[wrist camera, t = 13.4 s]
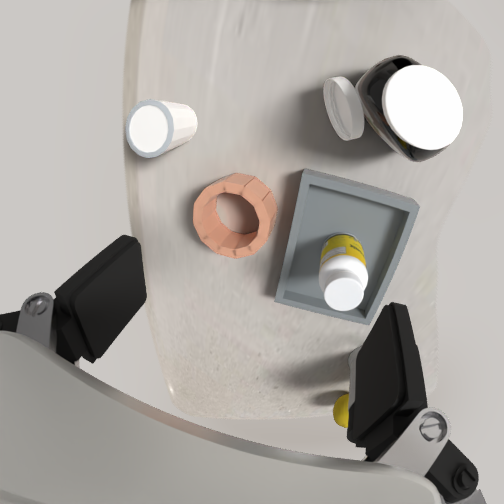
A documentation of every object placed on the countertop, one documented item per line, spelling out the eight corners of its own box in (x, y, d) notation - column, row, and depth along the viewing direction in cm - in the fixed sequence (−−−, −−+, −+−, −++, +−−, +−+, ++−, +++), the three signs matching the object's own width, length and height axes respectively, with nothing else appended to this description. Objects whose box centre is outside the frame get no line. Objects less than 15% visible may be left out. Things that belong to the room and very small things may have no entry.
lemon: (350, 382, 46) (347, 417, 40) (367, 393, 47) (366, 427, 40) (329, 393, 49) (324, 426, 43) (346, 403, 50) (343, 435, 43)
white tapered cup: (176, 158, 35) (146, 170, 30) (148, 122, 34) (116, 128, 28) (212, 126, 32) (185, 131, 26) (181, 88, 31) (150, 86, 25)
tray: (304, 168, 32) (302, 173, 29) (413, 199, 29) (419, 206, 27) (278, 290, 41) (274, 301, 38) (368, 312, 38) (369, 325, 36)
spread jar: (441, 128, 24) (489, 138, 15) (372, 179, 30) (391, 211, 20) (377, 45, 22) (398, 13, 12) (306, 99, 28) (293, 90, 18)
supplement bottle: (368, 261, 34) (376, 308, 26) (330, 274, 36) (327, 323, 28) (354, 224, 32) (360, 264, 24) (314, 239, 35) (307, 282, 26)
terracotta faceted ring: (210, 168, 35) (195, 176, 31) (282, 182, 33) (275, 192, 29) (205, 232, 40) (192, 246, 36) (270, 249, 38) (262, 265, 34)
